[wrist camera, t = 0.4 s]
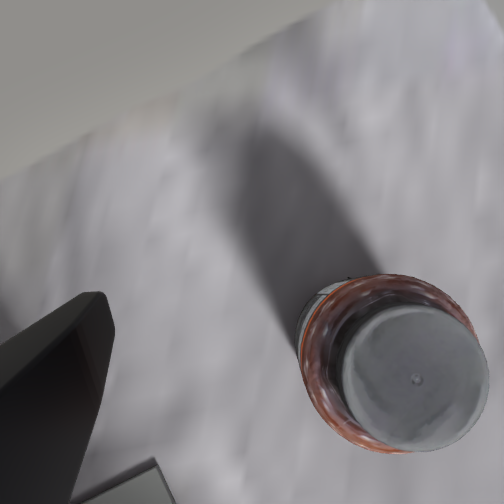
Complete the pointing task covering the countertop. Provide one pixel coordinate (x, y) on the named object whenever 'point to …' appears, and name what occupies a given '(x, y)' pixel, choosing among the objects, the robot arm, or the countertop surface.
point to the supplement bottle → (392, 363)
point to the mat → (137, 490)
